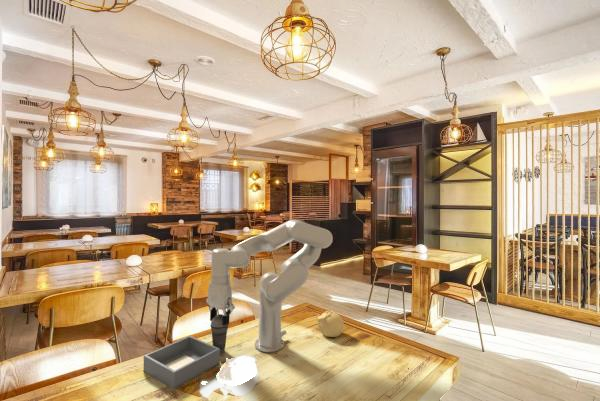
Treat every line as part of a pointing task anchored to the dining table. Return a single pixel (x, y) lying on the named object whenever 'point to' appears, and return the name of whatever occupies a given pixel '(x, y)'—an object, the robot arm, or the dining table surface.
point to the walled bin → (181, 361)
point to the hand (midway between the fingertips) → (219, 321)
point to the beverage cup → (219, 332)
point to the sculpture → (330, 324)
